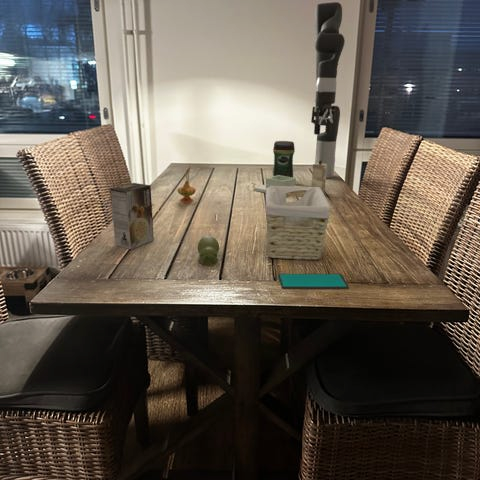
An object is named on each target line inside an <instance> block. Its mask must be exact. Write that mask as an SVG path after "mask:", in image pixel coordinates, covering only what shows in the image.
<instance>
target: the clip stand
mask: <svg viewBox="0 0 480 480" xmlns="http://www.w3.org/2000/svg"><path fill="white" fill-rule="evenodd" d="M296 183H297V178H296V177H293V178H292V177H287V176H281V175H277V176H273V177H272V176H269V177H266V178H265V184H262V185H257V186H254V187H253V191H255V192H260V193H264V194H266V191H267V188H268V187H270V186H296V187H302V186H301V185H296Z"/></svg>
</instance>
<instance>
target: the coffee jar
mask: <svg viewBox="0 0 480 480" xmlns="http://www.w3.org/2000/svg"><path fill="white" fill-rule="evenodd" d="M272 151H273V152H272V153H273V154H274V155H273V156H274V157H273V158H274V159H273V166H272V167H273V168H272V176H271V177H273V176H277V175H281V176H287V177H292V178H294V168H293V167H294V164H293V163H294V160H293V159H294V153H295V151H296V150H295V142H294V141H290V140H289V141H288V140H276V141H274V144H273V149H272Z"/></svg>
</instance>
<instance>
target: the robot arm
mask: <svg viewBox="0 0 480 480" xmlns="http://www.w3.org/2000/svg"><path fill="white" fill-rule="evenodd" d="M314 13H315V17H314V18H315V19H314V20H315V37H316V38H315V43H314V45H315V47H314V48H315V51H316V54H315V55H316V57H315V58H316V59H315V60H316V61H315V75H316V76H315V78H316V81H315V82H316V89H315V101H314V102H315V106H313V107H312V111H311V119H310V120H311V121H310V122H311V123H312V124H313V125H314V130H313V131H314V132H313V133H314V135H316V143H315V144H316V147H315V159H314V160H315V161H314V164H316V163H319V160H322V164H327V169H326V179H331V178H333V177H334V173H335V166H336V163H335V162H336V148H337V138H338V134H339V127H340V126H339V125H340V118H341V109H340V106H338V105H333V104H335V102H336V97H337V96H336V93H337V76H338V68H339V67H338V66H339V60H340V57H341V55H342V53H343V49H344V46H345V43H346V42H345V37H344V35H343V34H342V33H340V28H341V26H342V25H341V24H342V20H343V6H342V4H341V3H340V2H338V1H337V2H335V1H334V2H324V3H323V2H322V3H318V4H317V5H316V7H315V12H314ZM321 126H323V127H324V126H325V129H324V130H325V131H323V132H321Z"/></svg>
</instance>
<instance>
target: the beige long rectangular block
mask: <svg viewBox="0 0 480 480" xmlns="http://www.w3.org/2000/svg"><path fill="white" fill-rule="evenodd" d="M326 169H327V164H322V160H319V163H316V164H315V163H314V164H312V176H311V187H319V188H320V189H321V190H322V192H323V194H325V189H326V179H327V178H326Z"/></svg>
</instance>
